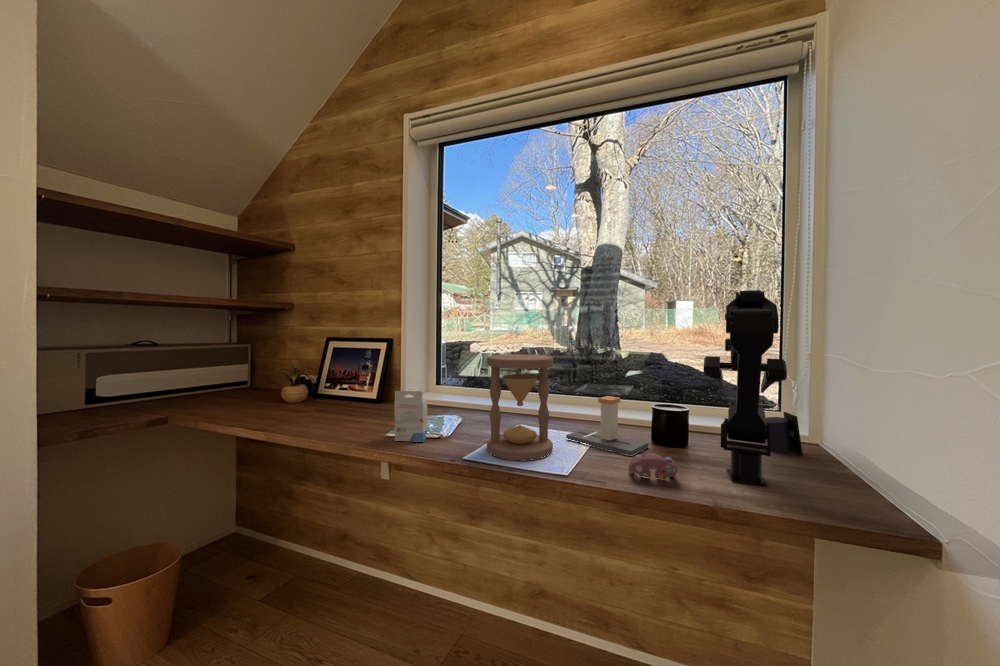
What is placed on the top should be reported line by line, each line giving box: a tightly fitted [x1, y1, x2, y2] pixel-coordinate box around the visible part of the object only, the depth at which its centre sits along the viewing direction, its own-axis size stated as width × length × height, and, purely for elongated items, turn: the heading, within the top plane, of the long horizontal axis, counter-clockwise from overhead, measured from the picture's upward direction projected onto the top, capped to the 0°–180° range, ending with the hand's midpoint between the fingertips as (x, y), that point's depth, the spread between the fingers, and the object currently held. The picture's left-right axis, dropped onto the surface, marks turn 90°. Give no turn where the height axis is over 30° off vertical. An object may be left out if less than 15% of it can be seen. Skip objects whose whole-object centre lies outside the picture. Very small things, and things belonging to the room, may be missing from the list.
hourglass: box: [486, 353, 554, 461], centre depth 102 cm, size 18×18×25 cm
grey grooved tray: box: [565, 427, 650, 455], centre depth 108 cm, size 20×10×2 cm, turn 44°
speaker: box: [765, 411, 804, 457], centre depth 102 cm, size 8×6×10 cm
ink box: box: [393, 390, 428, 443], centre depth 111 cm, size 8×5×15 cm, turn 85°
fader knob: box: [597, 395, 622, 441], centre depth 107 cm, size 4×5×11 cm
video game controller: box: [628, 453, 678, 480], centre depth 84 cm, size 10×5×7 cm, turn 76°
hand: (742, 390), depth 108 cm, fingers open, 9 cm apart
